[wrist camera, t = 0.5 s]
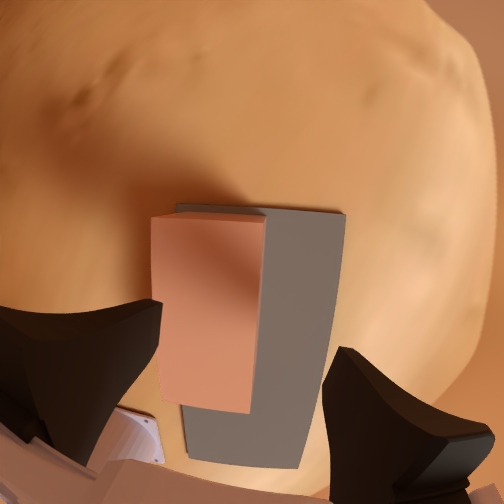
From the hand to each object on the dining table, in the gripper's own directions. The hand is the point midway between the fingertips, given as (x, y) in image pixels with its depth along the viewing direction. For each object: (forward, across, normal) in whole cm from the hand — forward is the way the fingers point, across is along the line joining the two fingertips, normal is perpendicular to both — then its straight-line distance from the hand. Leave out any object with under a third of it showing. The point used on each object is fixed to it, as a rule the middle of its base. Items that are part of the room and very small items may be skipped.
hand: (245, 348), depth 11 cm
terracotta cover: (+9, +2, +2) cm, 9 cm away
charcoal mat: (+9, -1, +8) cm, 12 cm away
